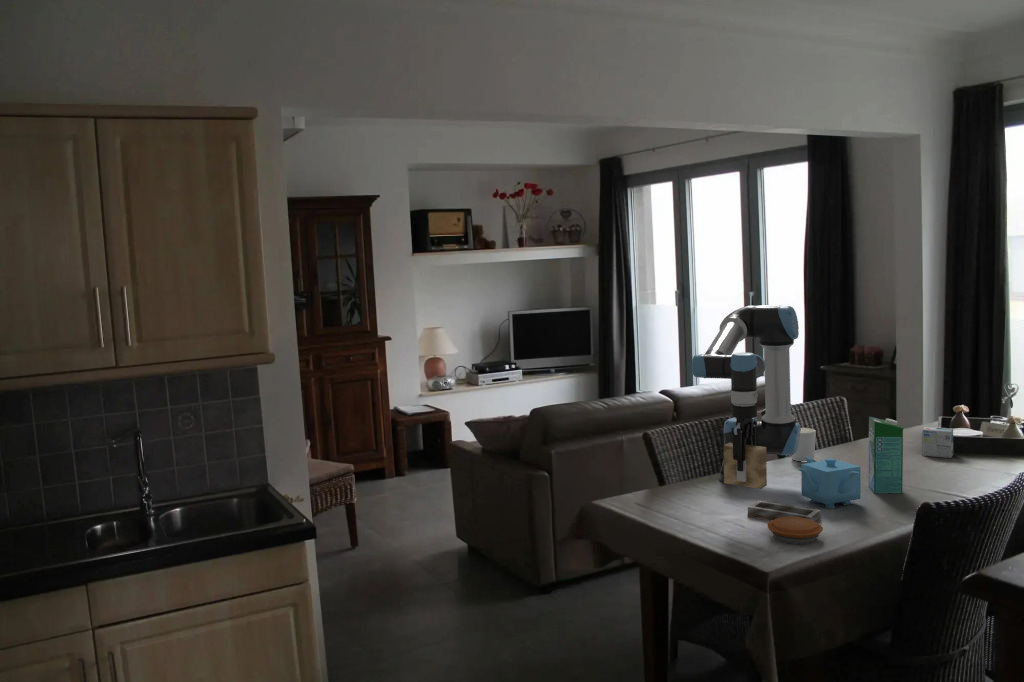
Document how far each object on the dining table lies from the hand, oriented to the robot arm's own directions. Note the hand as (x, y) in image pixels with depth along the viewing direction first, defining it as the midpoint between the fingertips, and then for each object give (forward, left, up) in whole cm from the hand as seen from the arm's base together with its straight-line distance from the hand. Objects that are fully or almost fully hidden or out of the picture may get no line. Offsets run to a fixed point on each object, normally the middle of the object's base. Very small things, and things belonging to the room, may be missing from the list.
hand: (745, 478), depth 258 cm
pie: (+17, -3, -15) cm, 23 cm away
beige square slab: (0, 0, -2) cm, 2 cm away
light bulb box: (+27, +122, -15) cm, 126 cm away
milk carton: (+24, +61, -15) cm, 67 cm away
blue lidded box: (+13, +36, -15) cm, 41 cm away
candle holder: (-15, +88, -15) cm, 91 cm away
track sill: (+7, +13, -14) cm, 21 cm away
